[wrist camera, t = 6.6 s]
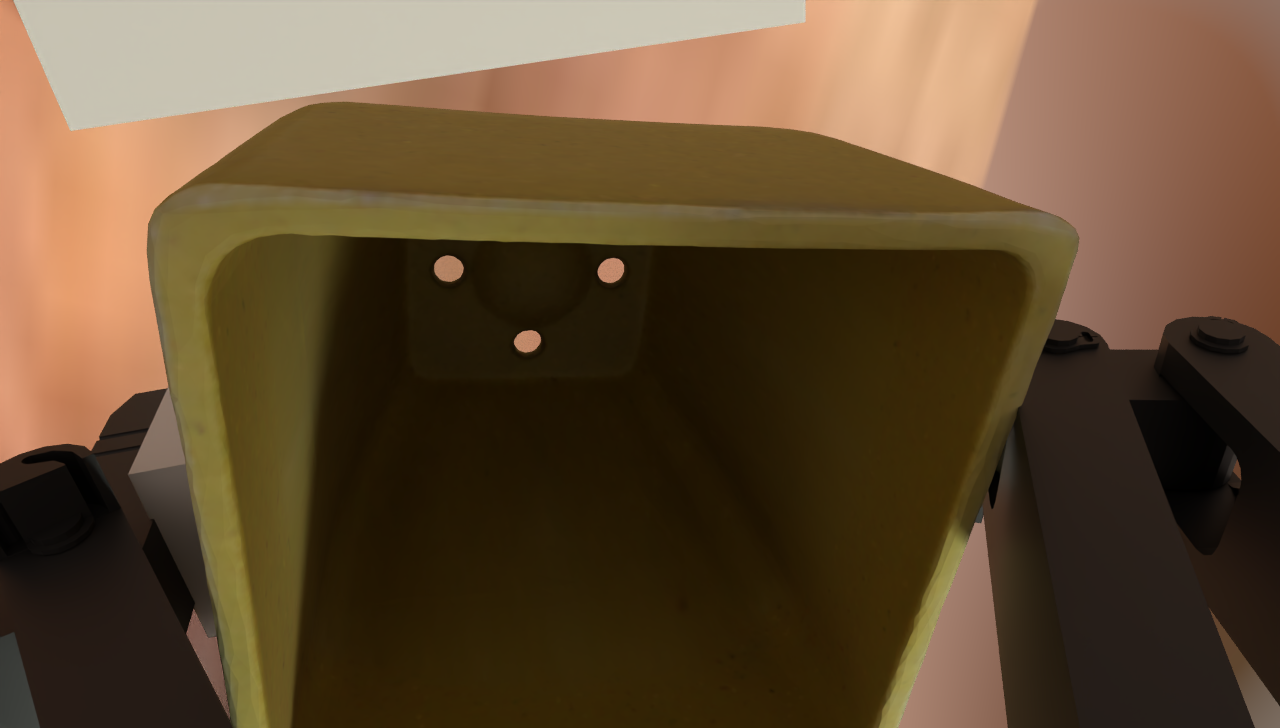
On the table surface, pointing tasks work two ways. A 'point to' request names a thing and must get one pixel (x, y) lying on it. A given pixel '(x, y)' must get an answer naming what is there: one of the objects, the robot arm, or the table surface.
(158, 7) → the white stand
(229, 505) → the flower pot
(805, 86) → the table surface
